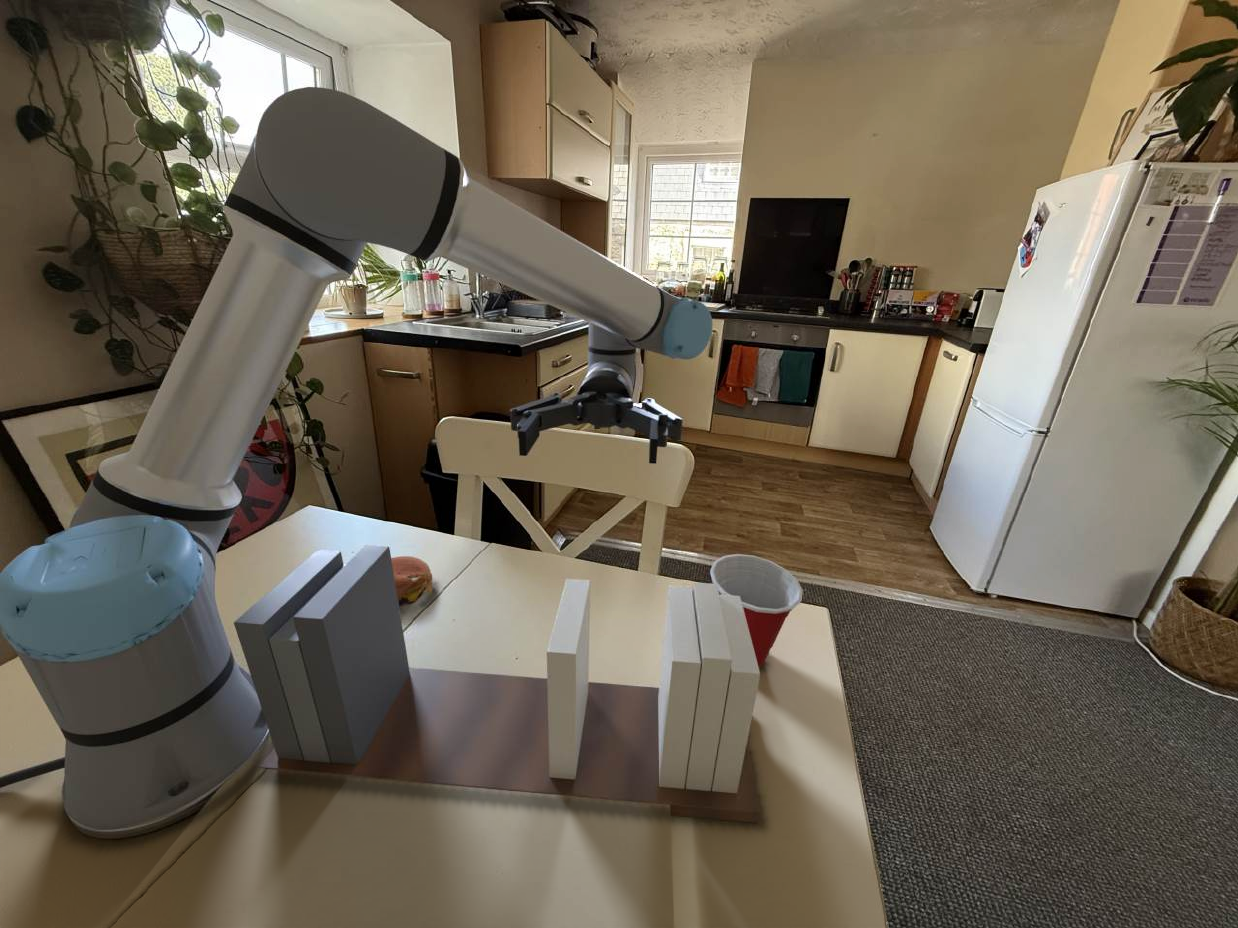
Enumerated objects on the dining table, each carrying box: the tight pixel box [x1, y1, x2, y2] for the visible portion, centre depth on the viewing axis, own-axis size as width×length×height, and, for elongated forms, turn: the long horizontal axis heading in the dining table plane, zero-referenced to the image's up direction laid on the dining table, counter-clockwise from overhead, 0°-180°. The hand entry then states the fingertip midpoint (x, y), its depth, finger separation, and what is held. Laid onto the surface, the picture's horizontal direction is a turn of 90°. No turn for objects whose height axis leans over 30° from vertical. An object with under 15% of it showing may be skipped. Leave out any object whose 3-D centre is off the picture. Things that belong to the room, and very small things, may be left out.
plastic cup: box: [709, 553, 804, 669], centre depth 61 cm, size 11×11×12 cm
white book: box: [546, 578, 591, 780], centre depth 48 cm, size 2×10×15 cm, turn 176°
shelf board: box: [258, 667, 761, 824], centre depth 51 cm, size 46×13×2 cm, turn 86°
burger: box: [391, 555, 434, 607], centre depth 71 cm, size 10×9×5 cm
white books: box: [658, 582, 761, 793], centre depth 47 cm, size 7×10×16 cm
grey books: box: [233, 544, 410, 765], centre depth 48 cm, size 8×11×17 cm
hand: (587, 447), depth 51 cm, fingers open, 13 cm apart
